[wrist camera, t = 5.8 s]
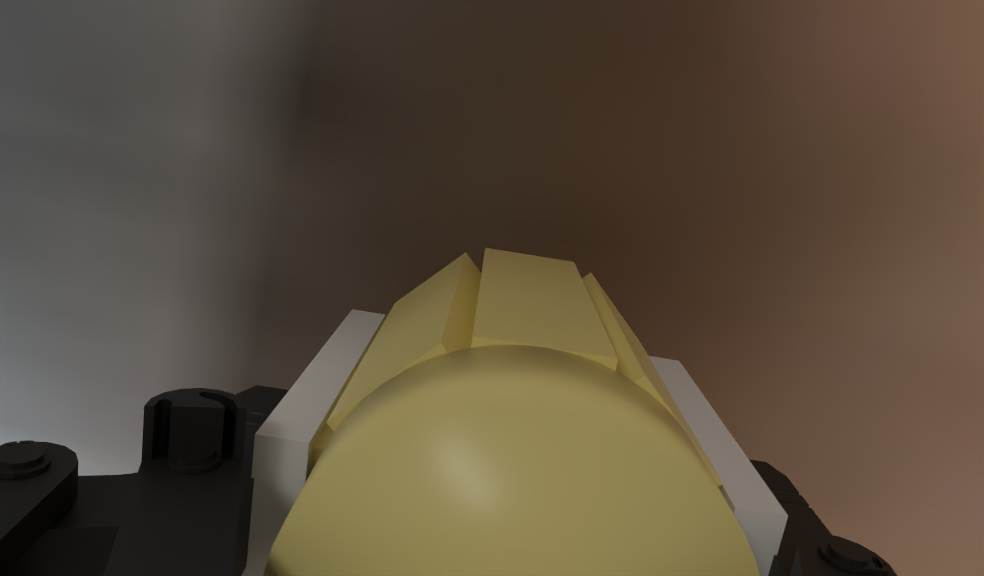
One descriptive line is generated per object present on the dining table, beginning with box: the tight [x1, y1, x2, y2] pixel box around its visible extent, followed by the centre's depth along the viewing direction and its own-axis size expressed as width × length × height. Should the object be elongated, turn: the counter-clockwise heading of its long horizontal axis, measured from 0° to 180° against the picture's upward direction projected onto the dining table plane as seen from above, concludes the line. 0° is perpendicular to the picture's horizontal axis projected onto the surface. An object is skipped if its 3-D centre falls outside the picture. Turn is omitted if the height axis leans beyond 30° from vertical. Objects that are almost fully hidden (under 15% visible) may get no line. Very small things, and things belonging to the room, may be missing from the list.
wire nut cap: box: [263, 248, 760, 576], centre depth 13 cm, size 6×6×8 cm
